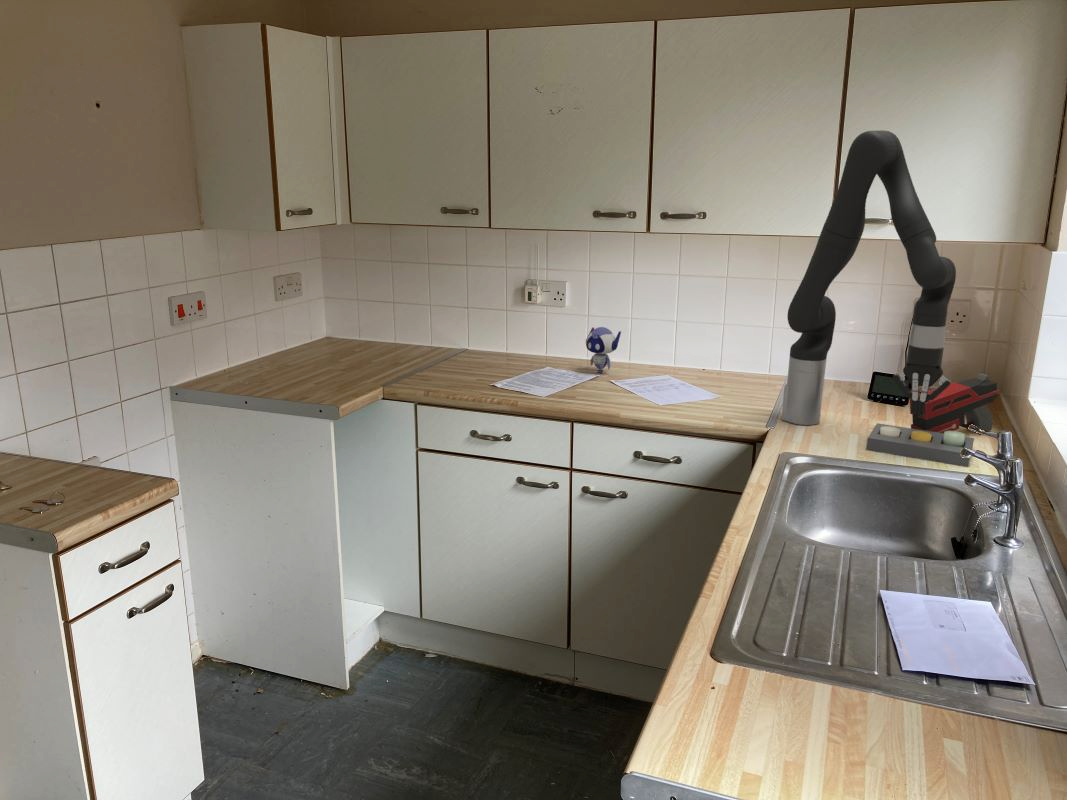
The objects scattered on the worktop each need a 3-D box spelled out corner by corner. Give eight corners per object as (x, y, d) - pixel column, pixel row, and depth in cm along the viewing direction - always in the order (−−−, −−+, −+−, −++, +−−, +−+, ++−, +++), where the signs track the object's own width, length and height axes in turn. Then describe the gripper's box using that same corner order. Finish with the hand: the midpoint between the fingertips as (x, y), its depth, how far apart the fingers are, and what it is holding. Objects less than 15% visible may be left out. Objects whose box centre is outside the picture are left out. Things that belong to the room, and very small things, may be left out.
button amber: (908, 448, 203) (910, 434, 202) (910, 443, 207) (912, 429, 206) (928, 451, 201) (930, 437, 200) (930, 446, 204) (932, 432, 203)
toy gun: (999, 428, 218) (998, 374, 213) (926, 457, 212) (924, 401, 207) (982, 422, 223) (981, 369, 218) (910, 450, 217) (907, 396, 212)
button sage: (941, 448, 199) (943, 434, 198) (943, 443, 203) (945, 429, 202) (962, 452, 197) (964, 437, 196) (963, 446, 201) (965, 432, 200)
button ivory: (877, 443, 206) (879, 429, 205) (880, 438, 210) (882, 425, 209) (896, 446, 204) (898, 432, 203) (899, 441, 208) (901, 428, 207)
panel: (865, 449, 203) (867, 437, 202) (875, 434, 215) (877, 423, 214) (967, 466, 193) (969, 454, 192) (972, 449, 204) (974, 438, 204)
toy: (577, 373, 272) (579, 327, 268) (594, 367, 280) (595, 323, 276) (606, 378, 267) (608, 331, 262) (622, 372, 274) (624, 327, 270)
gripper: (893, 343, 197) (884, 415, 202) (956, 349, 191) (946, 423, 195) (898, 338, 204) (890, 408, 208) (959, 344, 197) (949, 416, 202)
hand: (917, 415), depth 202 cm, fingers closed
